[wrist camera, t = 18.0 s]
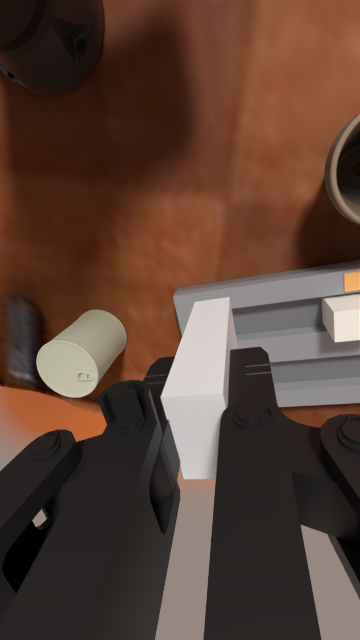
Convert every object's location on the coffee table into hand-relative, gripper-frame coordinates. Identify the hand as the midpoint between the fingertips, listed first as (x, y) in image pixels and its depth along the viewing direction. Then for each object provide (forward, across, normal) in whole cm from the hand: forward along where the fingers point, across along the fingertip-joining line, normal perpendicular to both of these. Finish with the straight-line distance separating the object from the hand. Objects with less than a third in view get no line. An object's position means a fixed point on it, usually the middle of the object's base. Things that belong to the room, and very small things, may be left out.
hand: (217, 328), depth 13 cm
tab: (+30, +13, -12) cm, 35 cm away
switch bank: (+32, +6, -17) cm, 36 cm away
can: (+32, -24, -13) cm, 42 cm away
